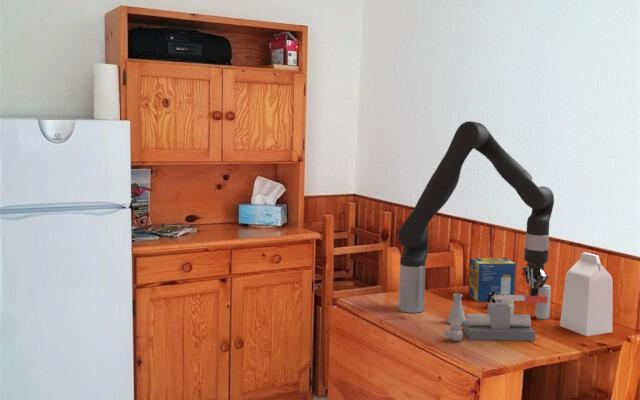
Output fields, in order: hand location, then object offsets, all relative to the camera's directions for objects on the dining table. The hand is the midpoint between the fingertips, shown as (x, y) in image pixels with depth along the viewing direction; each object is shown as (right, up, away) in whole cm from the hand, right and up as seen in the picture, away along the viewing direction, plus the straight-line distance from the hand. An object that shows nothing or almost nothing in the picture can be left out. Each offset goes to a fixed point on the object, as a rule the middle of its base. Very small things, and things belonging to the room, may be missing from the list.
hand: (533, 298), depth 217 cm
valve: (-4, -9, +25) cm, 27 cm away
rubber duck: (-28, -13, -7) cm, 32 cm away
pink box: (-6, 0, -3) cm, 6 cm away
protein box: (-3, -7, +44) cm, 45 cm away
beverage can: (+9, -10, +18) cm, 23 cm away
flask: (-23, -10, +12) cm, 28 cm away
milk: (+20, -12, +6) cm, 24 cm away
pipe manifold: (-12, -12, -1) cm, 17 cm away
